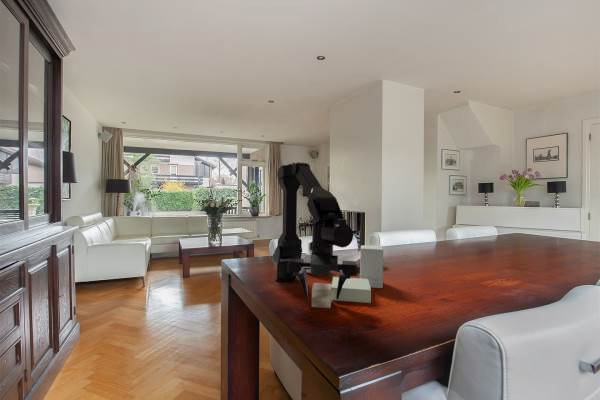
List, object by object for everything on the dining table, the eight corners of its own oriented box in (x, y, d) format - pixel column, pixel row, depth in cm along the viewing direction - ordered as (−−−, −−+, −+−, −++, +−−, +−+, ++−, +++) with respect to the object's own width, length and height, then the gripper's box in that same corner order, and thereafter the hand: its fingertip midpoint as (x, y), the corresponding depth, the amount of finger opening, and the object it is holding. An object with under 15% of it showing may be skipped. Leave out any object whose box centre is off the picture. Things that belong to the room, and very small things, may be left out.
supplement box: (383, 288, 95) (383, 249, 95) (359, 286, 97) (360, 248, 97) (381, 282, 103) (382, 245, 102) (359, 280, 104) (360, 244, 104)
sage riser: (331, 301, 84) (331, 287, 84) (333, 289, 95) (333, 276, 95) (370, 304, 83) (370, 289, 83) (367, 291, 94) (368, 278, 93)
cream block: (311, 307, 79) (311, 288, 79) (313, 300, 84) (313, 282, 84) (330, 308, 78) (330, 289, 78) (331, 301, 83) (331, 284, 83)
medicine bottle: (326, 270, 118) (327, 240, 118) (322, 274, 111) (322, 242, 111) (309, 268, 120) (309, 238, 120) (304, 272, 113) (304, 241, 113)
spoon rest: (337, 273, 114) (337, 254, 114) (325, 266, 125) (325, 249, 125) (390, 269, 121) (390, 252, 121) (374, 263, 132) (374, 247, 132)
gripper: (283, 244, 74) (282, 306, 75) (358, 247, 72) (357, 311, 72) (291, 238, 85) (290, 292, 86) (356, 240, 83) (355, 296, 83)
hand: (321, 297), depth 81 cm, fingers open, 8 cm apart
